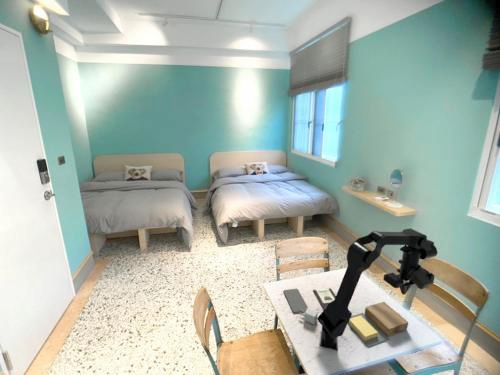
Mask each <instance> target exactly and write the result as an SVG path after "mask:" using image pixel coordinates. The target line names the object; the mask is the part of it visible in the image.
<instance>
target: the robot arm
mask: <svg viewBox="0 0 500 375" xmlns="http://www.w3.org/2000/svg"><path fill="white" fill-rule="evenodd" d="M371 243H375V248H374V249H373V250H371V249H370V248H368V247H366V246H364V245H368V244H371ZM434 244H435V242H434V241H432V240H430V239H428V236H427V235H426V234H424V233H421V232H419V231H417V230H416V229H412V228H405V229H403V230H401V231H379V230H373V231H371V232H370V233H369V234H368V235H364V236H361V237H358V238H357V239H356V240H355V241H353V243H351V244H350V245H349V247H348V250H347V253H346V261H347V268H346V270H345V273H344V275H343V277H342V279H341V283H340V284H339V288H338V291H337V293H336V294H335V296H336V297H335V300H333V301H332V302H330V303H328V305H327V307H326V309H325V310H323V311H322V312H321V313H320V314H318V315H319V316H318V315H317V321H318V323H319V324H320V325H321V331H320V332H319V346H320V347H323V348H327V349H330V350H335V351H338V349H339V347H338V346H339V342H338V341H339V340H338V337H341V336H343V334H344V333H345V330H346V329H347V326H348V323H349V320H350V318H351V316H353V315H352V314H353V313H352V311H351V310H350V309H349V306H350V303H351V300H352V298H353V296H354V294H355V291H356V288H357V287H358V283H359V281H360V278H361V276H362V274H363V272H365V271H366V270H368V269H369V268H370V267H371V265H372V264H373V263H374V262H375V261H376V260H377V259H378V258H379V257H380V256H381V252H382V249H383V248H384V247H385V246H401V247H400V248H399V251H401V252H402V255H401V256H402V257H401V259H398V264H400V266H399V268H396V272H397V273H398V274H396V273H394V272H393V271H392V272H389V273H385V274H384V275H383V280H382V281H384V282H385V283H387V284H388V285H389V286H392V287H393V289H398V288H399V290H400V293H401V294H402V295H406V294H407V292H408V291H409V290H410V288H411V287H412V286H413V285H415V286H416V287H417V288H418V289H419V290H424V289H427V288H429V287H430V286H431V285H433V284H434V283H435V274H434V273H432V272H430V271H429V270H427V269H425V268H424V267H422V265H420V264H419V263H420V260H427V259H431V258H434V257H436V256H437V255H438V253H439V252H438V249H437V247H436V245H434Z"/></svg>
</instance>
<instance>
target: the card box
mask: <svg viewBox="0 0 500 375" xmlns="http://www.w3.org/2000/svg"><path fill="white" fill-rule="evenodd" d="M349 324H350V325H351V326H352V327H353V329H354V330H355V331H356V332H357V333H358V334H359V335H360V336H361V337H362V338H363V339H364V341H366V340H369V339H371V338H374V337H377V334H378V332H377V331H376V330H375V329H374V328H373V327H372V326H371V325H370V324H369V323H368V322H367V321H366V320H365V319H364V318H363V317H362V316H361V315H360V316H357V317H354V318H351V319H350V320H349ZM353 329H352V330H353ZM354 330H353V331H354ZM355 331H354V332H355ZM356 332H355V333H356ZM364 341H363V342H364Z"/></svg>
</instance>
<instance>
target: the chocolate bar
mask: <svg viewBox="0 0 500 375" xmlns="http://www.w3.org/2000/svg"><path fill="white" fill-rule="evenodd" d="M312 291H313V293H314V296H315V298H316V299H317V301H318V302H319V304H320V306H321V308H322V309H323V311H324V310H325V309H326V307H327V305H328V303H330V302H332V301H333V300H335V297H336V294H335V293H334V291H333V289H332V288H331V287H330V288H320V289H313V290H312Z"/></svg>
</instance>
